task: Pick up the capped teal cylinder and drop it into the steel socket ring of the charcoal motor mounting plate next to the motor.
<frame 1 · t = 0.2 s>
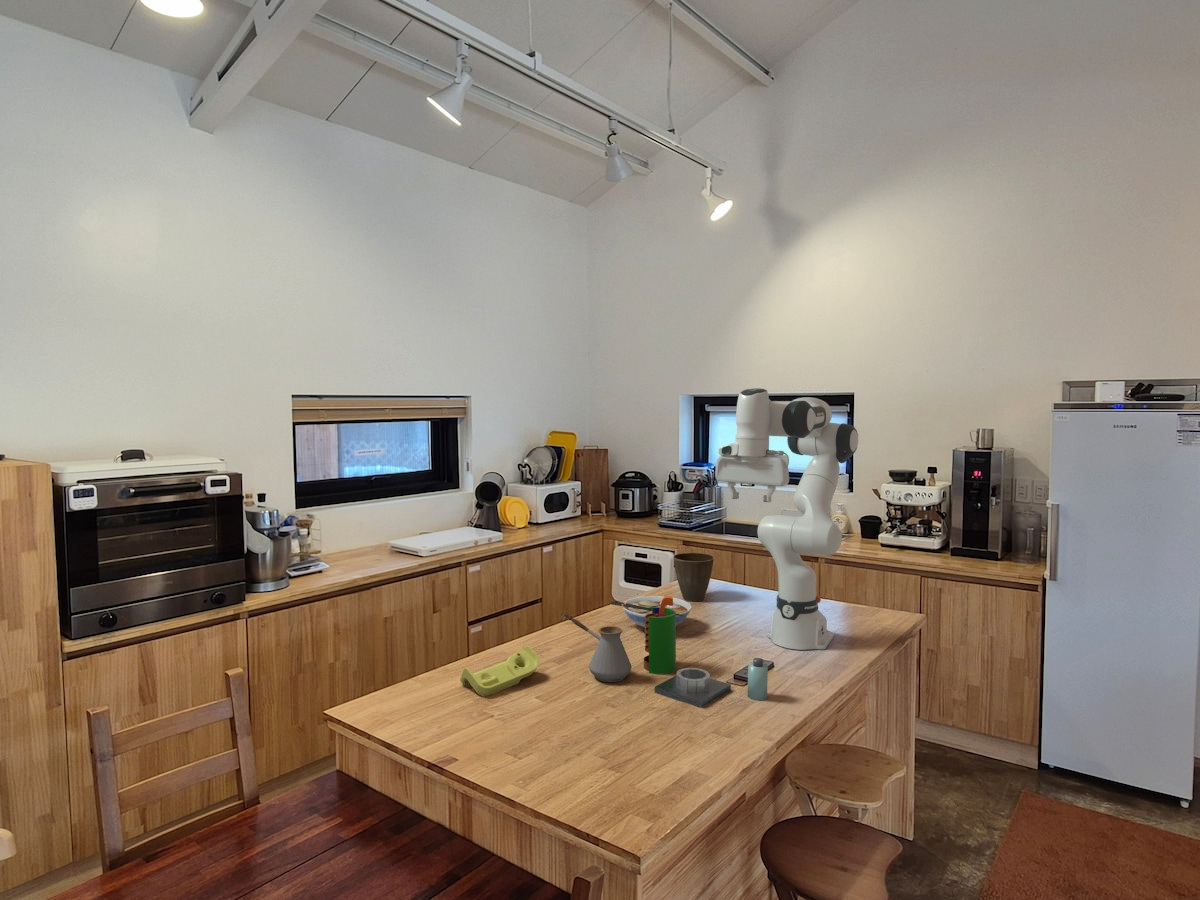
hand: (750, 500, 193), 47 cm above the kitchen island, fingers open, 8 cm apart
motor mount: (692, 691, 183), on the kitchen island
plastic component: (502, 684, 188), on the kitchen island
coffee pot: (594, 673, 195), on the kitchen island
ramen bowl: (656, 627, 234), on the kitchen island
capped teal cylinder: (757, 696, 180), on the kitchen island
plant pot: (692, 599, 267), on the kitchen island
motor: (659, 667, 199), on the kitchen island
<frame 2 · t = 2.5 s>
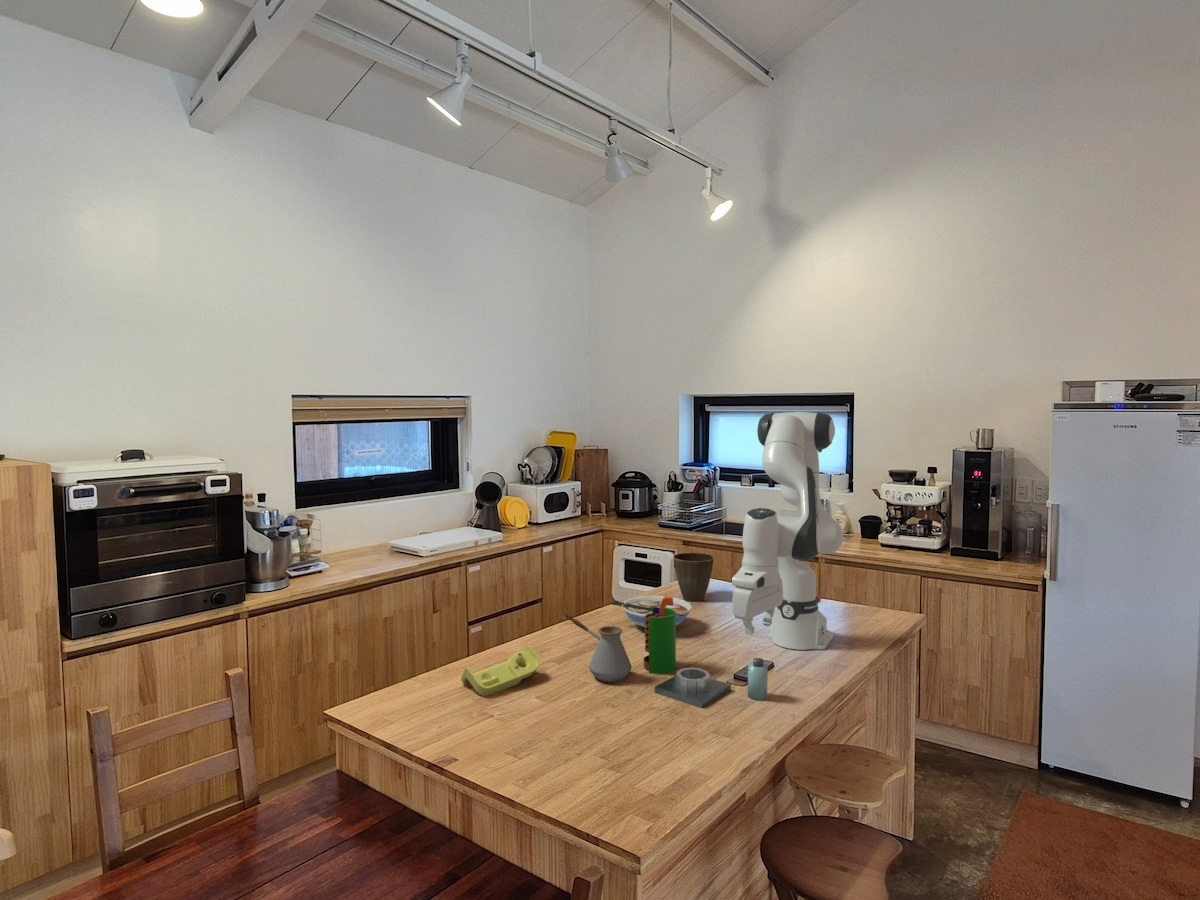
hand: (758, 629, 178), 17 cm above the kitchen island, fingers open, 8 cm apart
nothing on the kitchen island moved.
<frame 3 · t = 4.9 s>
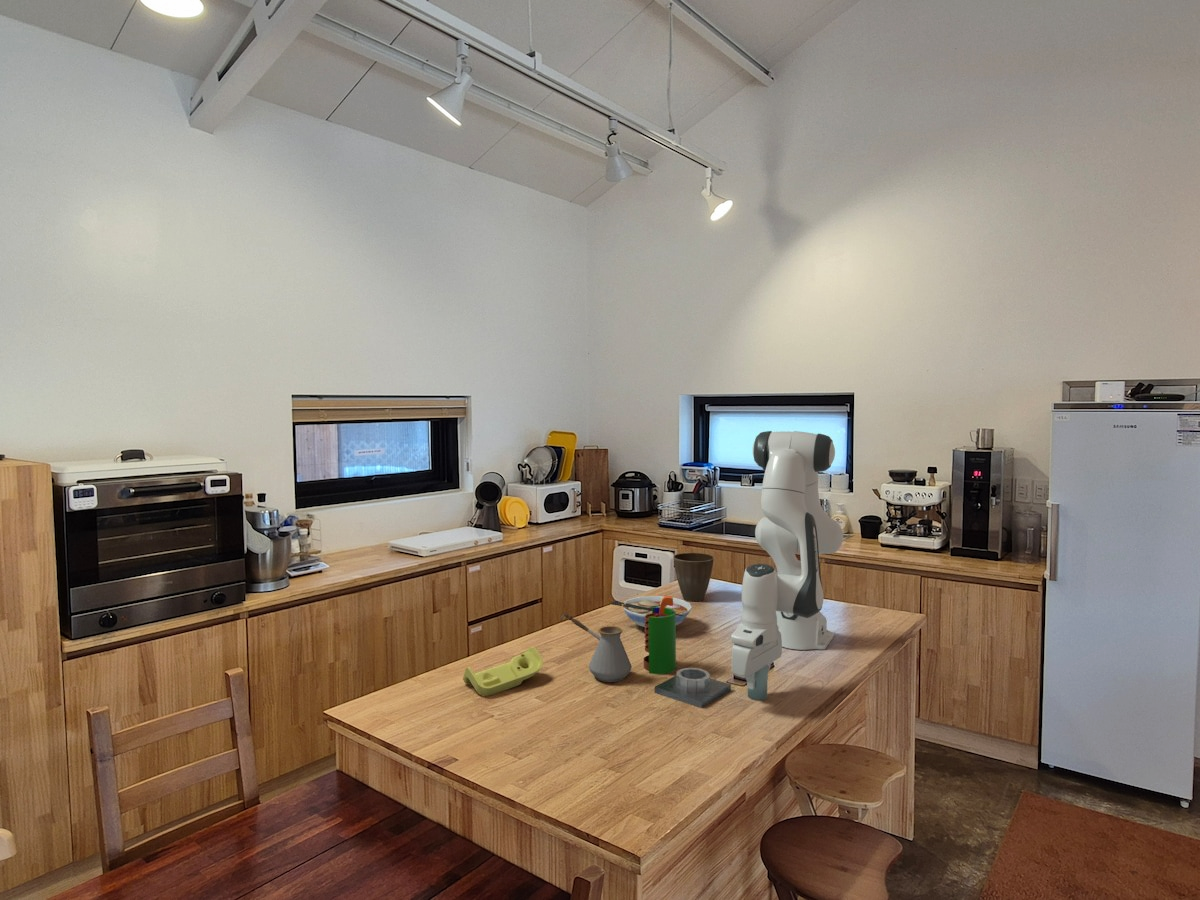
hand: (757, 684, 180), 3 cm above the kitchen island, fingers closed on capped teal cylinder, 5 cm apart
capped teal cylinder: (757, 696, 180), on the kitchen island, touching gripper
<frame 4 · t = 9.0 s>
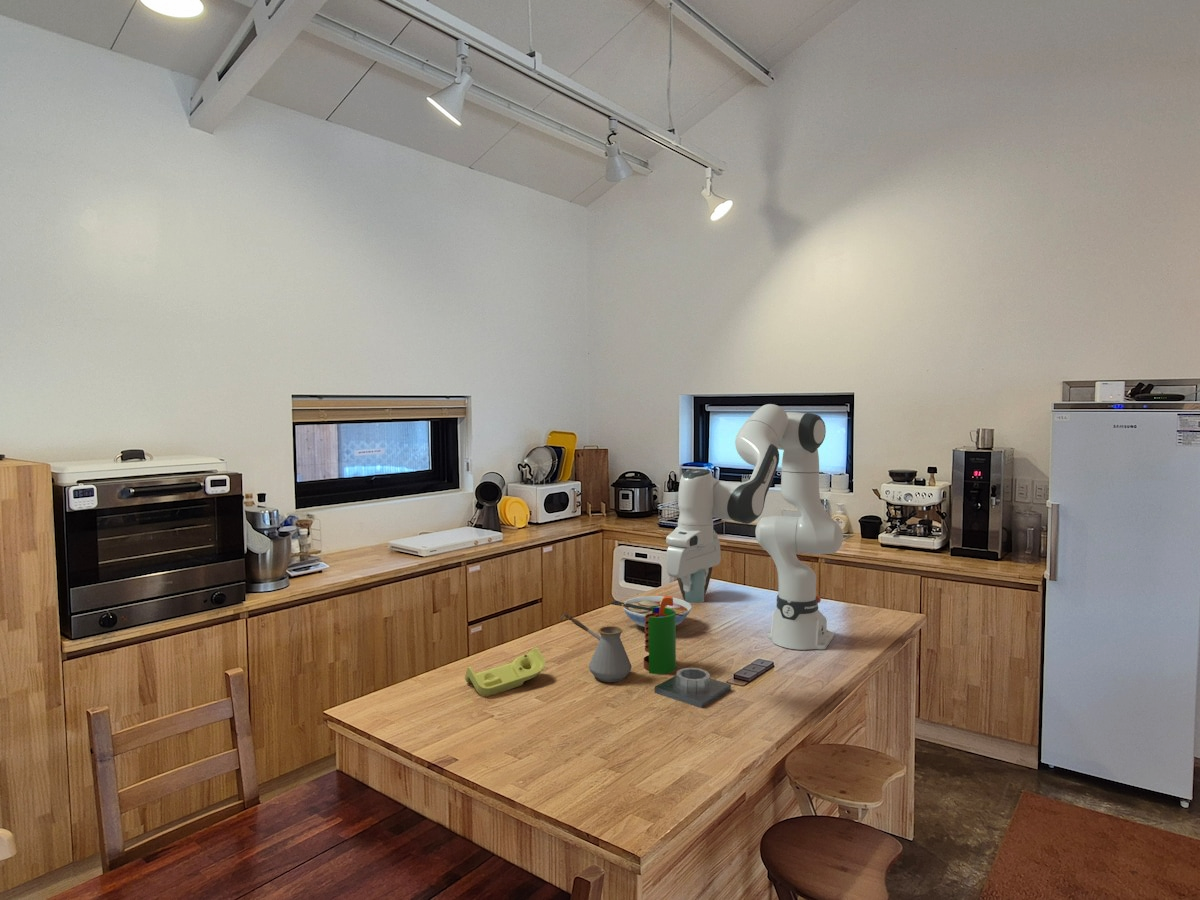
hand: (694, 588, 181), 27 cm above the kitchen island, fingers closed on capped teal cylinder, 5 cm apart
capped teal cylinder: (694, 600, 181), point 24 cm above the kitchen island, touching gripper
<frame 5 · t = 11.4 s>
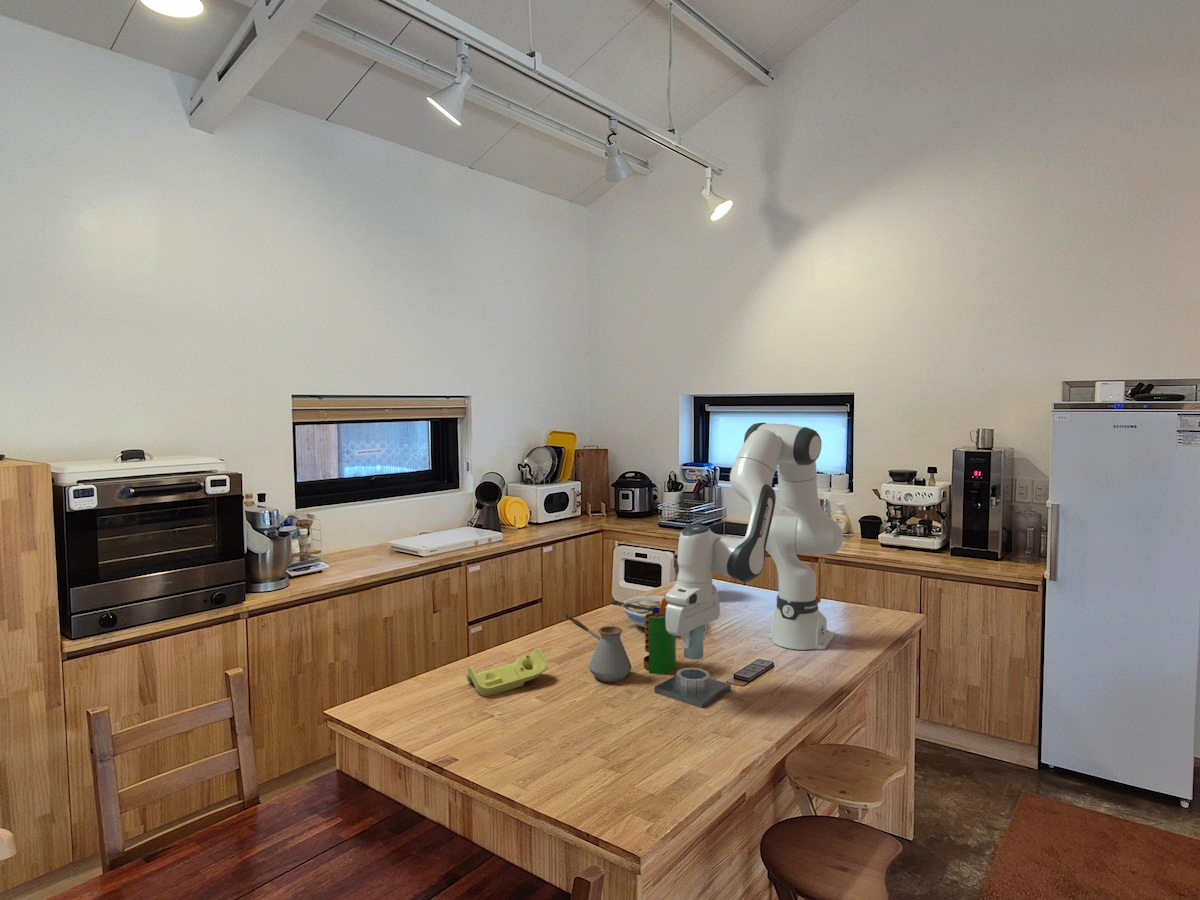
hand: (693, 644, 182), 12 cm above the kitchen island, fingers closed on capped teal cylinder, 5 cm apart
capped teal cylinder: (693, 656, 182), point 9 cm above the kitchen island, touching gripper
when the fingers open (6 cm above the kitchen island, at t = 13.6 s): capped teal cylinder drops 1 cm, resting on motor mount.
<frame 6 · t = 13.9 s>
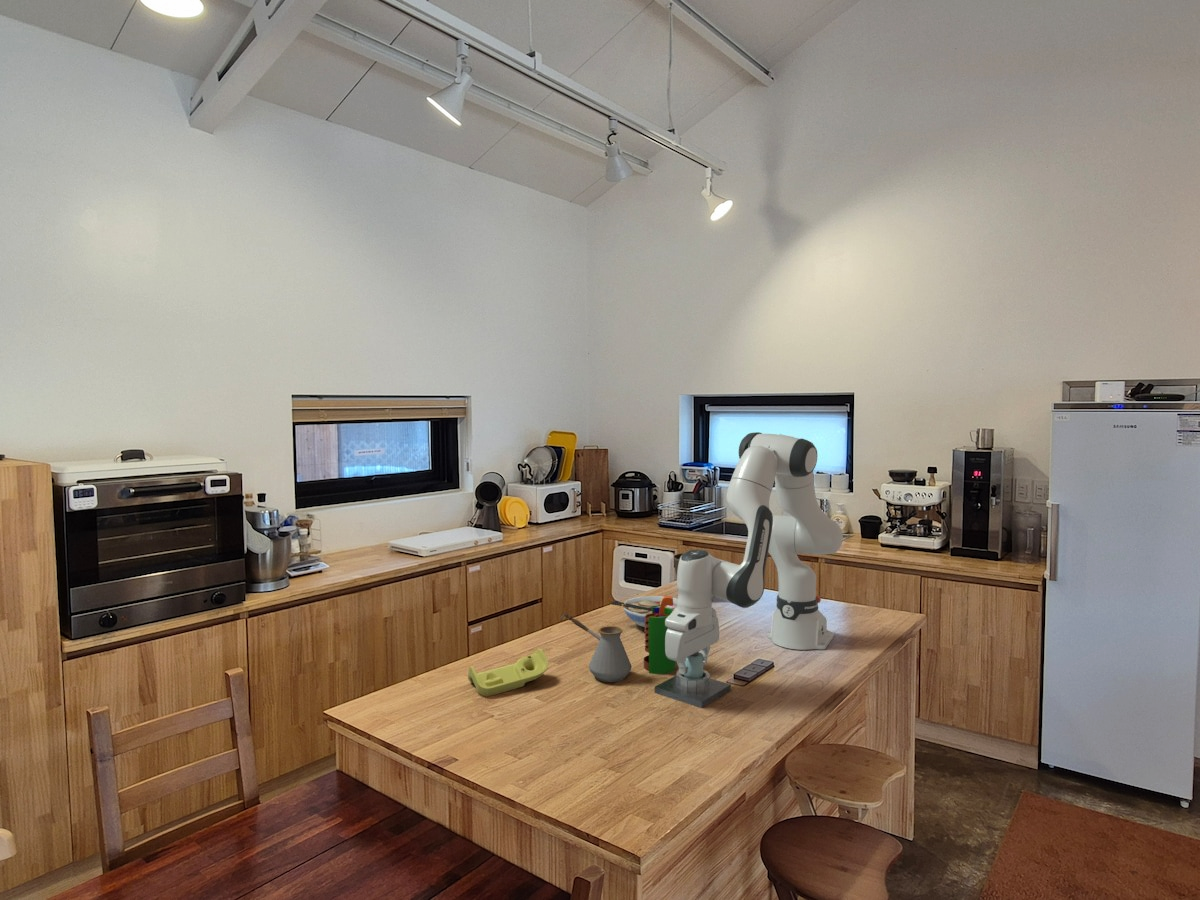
hand: (693, 668, 182), 6 cm above the kitchen island, fingers open, 8 cm apart
capped teal cylinder: (693, 685, 183), point 2 cm above the kitchen island, touching motor mount
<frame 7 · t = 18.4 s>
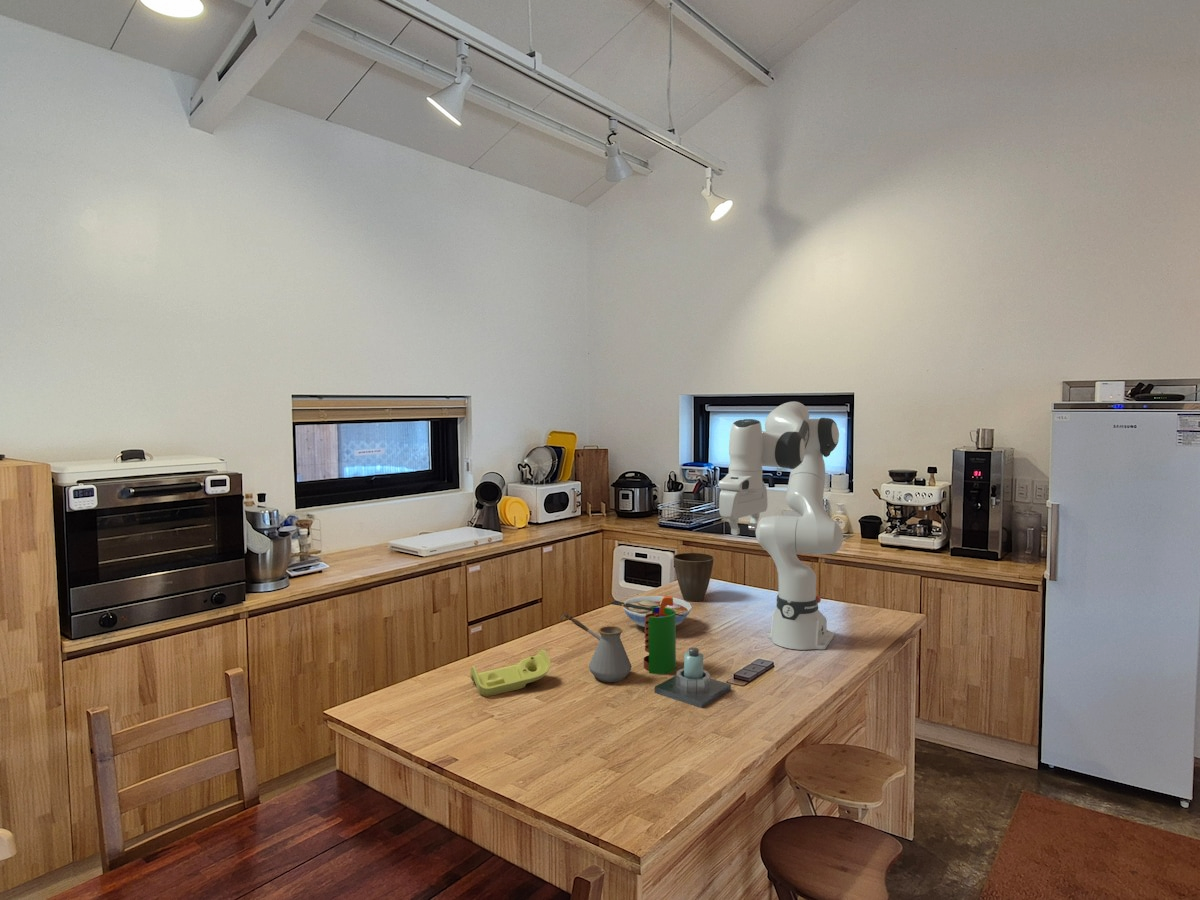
hand: (744, 532, 191), 39 cm above the kitchen island, fingers open, 8 cm apart
at the end: capped teal cylinder 0.1 cm off-centre on the motor mount, point 1.5 cm above the motor mount's base; capped teal cylinder tilted 1°; the gripper is holding nothing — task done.
